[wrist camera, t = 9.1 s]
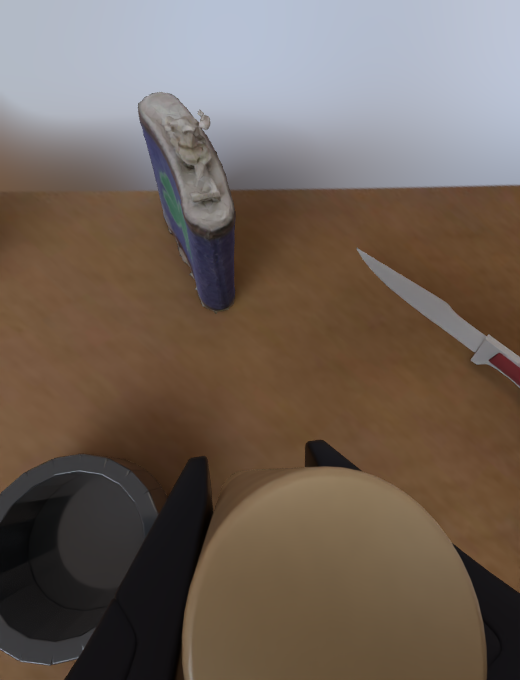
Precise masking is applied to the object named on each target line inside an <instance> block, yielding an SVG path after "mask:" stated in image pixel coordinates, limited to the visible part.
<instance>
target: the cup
mask: <svg viewBox="0 0 520 680" xmlns="http://www.w3.org/2000/svg"><path fill="white" fill-rule="evenodd" d="M166 500H167V495H166V493H165V492H164V490H163V488H162V486H161V485H160V484H159V482H158V481H157V480H156V479H155V477H154V476H153V475H152V474H151V473H149V472H148V471H147V470H145V469H144V468H143V467H141V466H139V465H137V464H136V463H133V462H130V461H128V460H126V459H120V458H113V457H107V456H98V455H90V454H76V455H70V456H64V457H58V458H54V459H51V460H49V461H47V462H45V463H43V464H41V465H39V466H37V467H35V468H32V469H30V470H28V471H27V472H25V473H23V474H22V475H21V476H20V477H19V478H17V479H16V480H15V481H14V482H13V483H12V484H11V485H9V486H8V487H7V488H6V489H5V490H4V491H2V492H1V494H0V650H1V651H3V652H5V653H6V654H8V655H10V656H11V657H13V658H15V659H16V660H20V662H27V663H34V664H42V665H49V666H50V665H55V664H59V663H64V662H68V661H72V660H76V659H78V658H79V656H80V654H81V653H82V651H83V649H84V648H85V646H86V644H87V642H88V641H89V639H90V637H91V636H92V634H93V632H94V630H95V629H96V627H97V625H98V624H99V622H100V620H101V618H102V616H103V615H104V613H105V611H106V609H107V607H108V605H109V604H110V602H111V600H112V599H113V598H115V593H116V591H117V589H118V587H119V586H120V584H121V582H122V580H123V578H124V577H125V575H126V573H127V571H128V569H129V567H130V566H131V564H132V562H133V560H134V558H135V556H136V555H137V553H138V551H139V549H140V547H141V546H142V544H143V542H144V540H145V538H146V536H147V535H148V533H149V531H150V529H151V527H152V525H153V524H154V522H155V520H156V518H157V516H158V515H159V513H160V511H161V509H162V507H163V505H164V504H165V502H166Z"/></svg>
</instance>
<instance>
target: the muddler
mask: <svg viewBox="0 0 520 680" xmlns="http://www.w3.org/2000/svg"><path fill="white" fill-rule="evenodd" d="M182 666H183V674H184V680H487V647H486V639H485V632H484V624H483V620H482V615H481V611H480V607H479V603H478V599H477V596H476V593H475V590H474V587H473V585H472V582H471V579H470V577H469V575H468V572H467V570H466V568H465V566H464V564H463V562H462V559H461V558H460V556H459V554H458V553H457V551H456V549H455V548H454V546H453V544H452V543H451V541H450V539H449V538H448V536H447V535H446V534H445V532H444V531H443V530H442V528H441V527H440V526H439V524H438V523H437V522H436V521H435V520H434V519H433V517H432V516H431V515H430V514H429V513H428V512H427V511H426V510H425V509H424V508H423V507H422V506H421V505H420V504H419V503H417V502H416V501H415V500H414V499H413V498H411V497H410V496H409V495H408V494H406V493H405V492H403V491H402V490H400V489H399V488H397V487H396V486H394V485H393V484H391V483H389V482H387V481H385V480H383V479H381V478H379V477H377V476H374V475H371V474H368V473H365V472H362V471H359V470H354V469H348V468H343V467H327V466H324V467H302V468H280V469H259V470H242V471H239V472H236V473H234V474H233V475H231V476H230V477H229V478H228V479H227V480H226V481H225V482H224V484H223V486H222V488H221V490H220V494H219V497H218V500H217V503H216V506H215V509H214V512H213V515H212V519H211V522H210V525H209V528H208V531H207V534H206V537H205V541H204V544H203V547H202V550H201V553H200V556H199V559H198V563H197V566H196V569H195V572H194V575H193V578H192V581H191V585H190V588H189V592H188V597H187V602H186V606H185V611H184V620H183V630H182Z"/></svg>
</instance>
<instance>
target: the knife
mask: <svg viewBox="0 0 520 680" xmlns="http://www.w3.org/2000/svg"><path fill="white" fill-rule="evenodd" d="M357 250H358V252H359V254H360V256H361V257H362V259H363V260H364V261H365V263H366V264H367V265H368V266H369V267H370V269H371V270H372V271H373V272H374V273H375V274H376V275H377V276H378V277H379V278H380V279H381V280H382V281H383V282H384V283H385V284H386V285H387V286H388V287H389V288H390V289H391V290H393V291H394V292H395V293H396V294H398V295H399V296H400V297H401V298H402V299H404V300H405V301H406V302H408V303H409V304H410V305H411V306H413V307H414V308H415V309H417V310H418V311H419V312H420V313H422V314H423V315H424V316H426V317H427V318H428V319H430V320H431V321H433V322H434V323H436V324H437V325H438V326H440V327H441V328H442V329H444V330H445V331H446V332H448V333H449V334H450V335H452V336H453V337H454V338H456V339H457V340H458V341H460V342H461V343H462V344H464V345H465V346H466V347H468V348H469V349H470V350H472V351H473V352H474V353H475V352H476V353H475V354H474V356H473V357H472V359H471V361H472V362H474V363H475V364H476V365H478V364H488V365H490V366H492V367H494V368H495V369H497V370H498V371H500V372H501V373H503V374H504V375H505V376H506V377H508V378H509V379H510V380H511V381H513V382H514V383H515V384H516V385H517V386H518V387H519V388H520V357H519V356H517V355H516V354H515V353H514V352H512V351H511V350H509V349H508V348H507V347H505V346H504V345H503V344H501V343H500V342H498V341H497V340H496V339H494V338H493V337H492V336H490V335H489V334H488V336H485V335H484V334H483V333H481V332H480V331H478V330H477V329H476V328H474V327H473V326H471V325H470V324H469V323H467V322H466V321H465V320H463V319H462V318H461V317H460V316H458V315H457V314H456V313H455V312H454V311H453V309H452V308H451V307H450V306H449V304H448V303H446V302H445V301H443V300H441V299H440V298H438V297H437V296H435V295H433V294H432V293H430V292H429V291H427V290H425V289H424V288H422V287H420V286H419V285H417V284H415V283H414V282H412V281H410V280H409V279H407V278H405V277H404V276H402V275H400V274H399V273H397V272H396V271H394V270H392V269H391V268H389V267H387V266H386V265H384V264H382V263H381V262H379V261H378V260H376V259H374V258H373V257H371V256H369V255H368V254H366V253H364V252H363V251H361V250H360V249H358V248H357ZM478 348H479V349H478Z"/></svg>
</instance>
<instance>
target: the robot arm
mask: <svg viewBox="0 0 520 680" xmlns="http://www.w3.org/2000/svg"><path fill="white" fill-rule="evenodd" d="M324 466H327V467H343V468H348V469H354V470H359V471H361V470H360V469H359V468H357V467H356V466H355V465H354V464H352V463H351V462H350V461H349V460H347V459H346V458H345V457H344V456H342V455H341V454H340V453H339V452H337V451H336V450H335V449H334V448H332V447H331V446H330V445H329V444H327V443H326V442H325V441H323V440H315V441H308V442H307V443H306V445H305V467H324ZM212 515H213V505H212V491H211V481H210V473H209V466H208V459H207V457H206V456H201V457H194V458H190V459H189V460H188V462H187V463H186V465H185V467H184V469H183V471H182V473H181V474H180V476H179V478H178V480H177V482H176V483H175V485H174V487H173V489H172V491H171V493H170V494H169V496H168V498H167V500H166V502H165V504H164V505H163V507H162V509H161V511H160V513H159V515H158V516H157V518H156V520H155V522H154V524H153V525H152V527H151V529H150V531H149V533H148V535H147V536H146V538H145V540H144V542H143V544H142V546H141V547H140V549H139V551H138V553H137V555H136V556H135V558H134V560H133V562H132V564H131V566H130V567H129V569H128V571H127V573H126V575H125V577H124V578H123V580H122V582H121V584H120V586H119V587H118V589H117V591H116V593H115V598H113V599H112V600H111V602H110V604H109V605H108V607H107V609H106V611H105V613H104V615H103V616H102V618H101V620H100V622H99V624H98V625H97V627H96V629H95V630H94V632H93V634H92V636H91V637H90V639H89V641H88V642H87V644H86V646H85V648H84V649H83V651H82V653H81V654H80V656H79V658H78V659H77V661H76V662H75V664H74V665H73V667H72V668H71V670H70V672H69V673H68V675H67V676H66V678H65V679H64V680H184V674H183V666H182V630H183V620H184V611H185V606H186V602H187V597H188V592H189V588H190V585H191V581H192V578H193V575H194V572H195V569H196V566H197V563H198V559H199V556H200V553H201V550H202V547H203V544H204V541H205V537H206V534H207V531H208V528H209V525H210V522H211V519H212ZM452 544H453V543H452ZM453 546H454V548H455V549H456V551H457V553H458V554H459V556H460V558H461V559H462V562H463V564H464V566H465V568H466V570H467V572H468V575H469V577H470V579H471V582H472V585H473V587H474V590H475V593H476V596H477V599H478V603H479V607H480V611H481V615H482V620H483V624H484V632H485V639H486V647H487V680H520V593H519V592H517V591H516V590H514V589H513V588H511V587H510V586H509V585H507V584H506V583H504V582H503V581H502V580H500V579H499V578H497V577H496V576H495V575H493V574H492V573H490V572H489V571H488V570H486V569H485V568H484V567H482V566H481V565H480V564H478V563H477V562H476V561H475V560H473V559H472V558H471V557H469V556H468V555H467V554H465V553H464V552H463V551H461V550H460V549H459V548H458V547H456V546H455V545H454V544H453Z"/></svg>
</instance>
